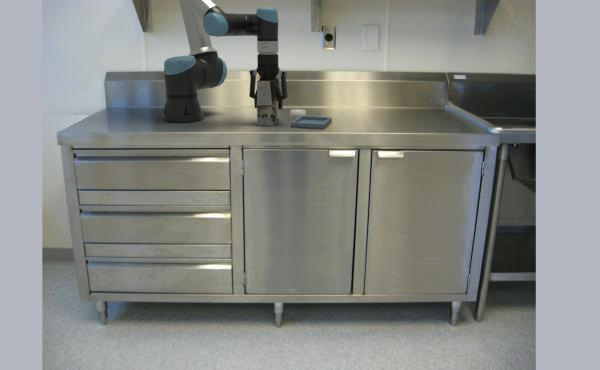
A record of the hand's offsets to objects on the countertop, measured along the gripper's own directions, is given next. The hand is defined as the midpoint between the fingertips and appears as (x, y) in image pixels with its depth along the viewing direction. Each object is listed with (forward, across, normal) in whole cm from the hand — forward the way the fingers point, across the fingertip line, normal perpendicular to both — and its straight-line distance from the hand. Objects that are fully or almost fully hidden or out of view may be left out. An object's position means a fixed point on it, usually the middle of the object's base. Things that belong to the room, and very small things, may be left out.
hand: (268, 117), depth 185 cm
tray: (+2, +16, +2) cm, 16 cm away
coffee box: (+2, 0, 0) cm, 2 cm away
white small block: (+2, +8, +12) cm, 15 cm away
